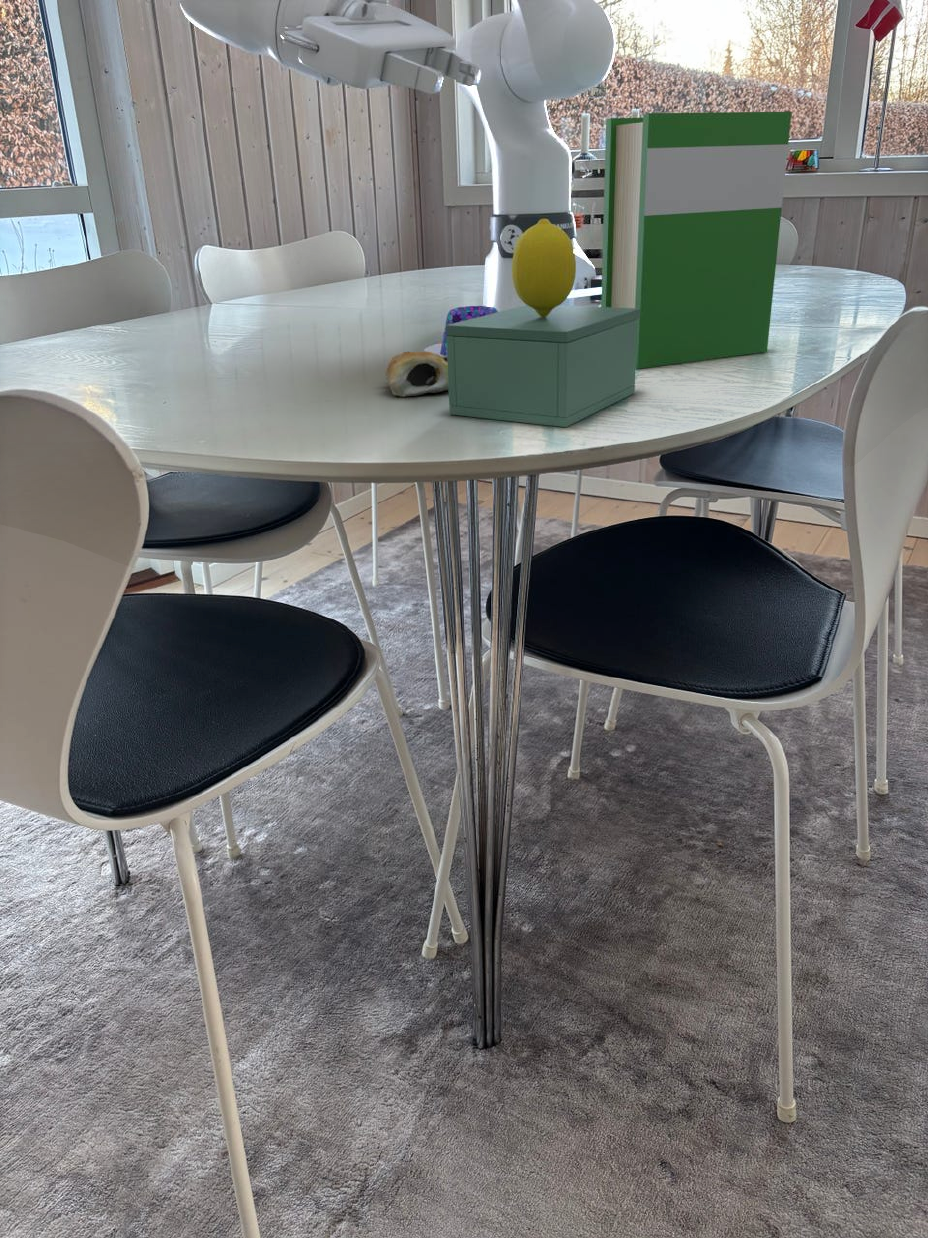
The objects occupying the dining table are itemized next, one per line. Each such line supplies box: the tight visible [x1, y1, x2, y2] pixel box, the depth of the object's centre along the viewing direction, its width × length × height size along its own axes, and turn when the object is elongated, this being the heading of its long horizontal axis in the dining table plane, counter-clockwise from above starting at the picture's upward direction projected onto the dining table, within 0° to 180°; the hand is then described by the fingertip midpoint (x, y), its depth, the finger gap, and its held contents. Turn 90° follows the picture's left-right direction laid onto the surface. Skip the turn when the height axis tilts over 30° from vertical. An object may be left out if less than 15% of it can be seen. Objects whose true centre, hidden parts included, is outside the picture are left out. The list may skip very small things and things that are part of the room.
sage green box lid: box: [446, 305, 641, 343], centre depth 82 cm, size 15×12×1 cm
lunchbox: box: [446, 319, 638, 428], centre depth 83 cm, size 15×12×7 cm
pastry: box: [384, 350, 449, 398], centre depth 93 cm, size 9×7×4 cm
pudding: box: [423, 305, 498, 360], centre depth 109 cm, size 12×12×5 cm
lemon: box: [512, 219, 576, 317], centre depth 80 cm, size 6×6×8 cm
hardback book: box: [601, 111, 792, 370], centre depth 99 cm, size 18×7×24 cm, turn 115°
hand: (459, 80), depth 85 cm, fingers open, 8 cm apart
